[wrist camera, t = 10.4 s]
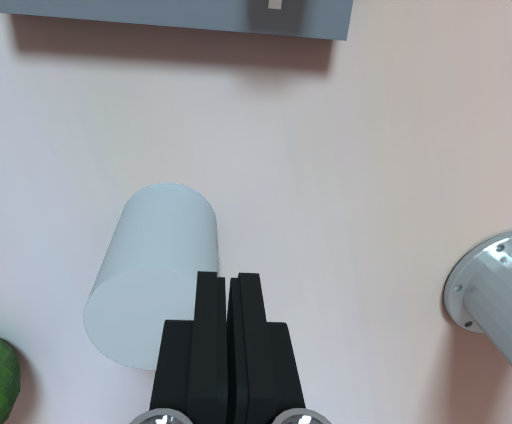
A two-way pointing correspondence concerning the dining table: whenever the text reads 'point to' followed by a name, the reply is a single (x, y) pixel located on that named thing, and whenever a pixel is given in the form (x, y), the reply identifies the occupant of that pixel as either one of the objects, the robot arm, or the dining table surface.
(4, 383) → the avocado
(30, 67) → the dining table surface
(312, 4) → the board
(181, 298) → the light blue cylinder
